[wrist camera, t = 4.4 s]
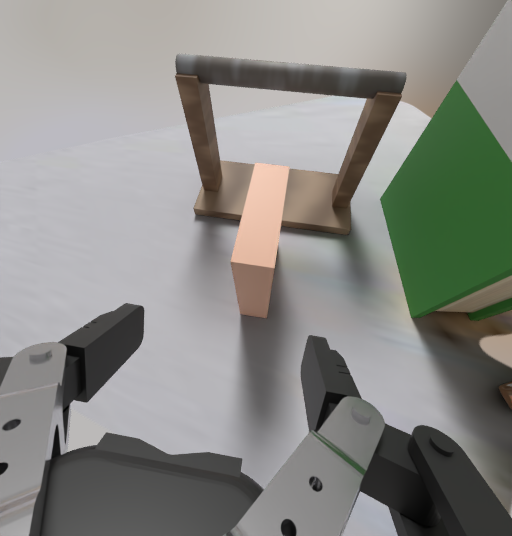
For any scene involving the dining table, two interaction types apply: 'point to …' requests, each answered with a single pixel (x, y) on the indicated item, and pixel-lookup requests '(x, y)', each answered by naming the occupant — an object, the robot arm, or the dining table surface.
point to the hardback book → (460, 192)
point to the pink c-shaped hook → (259, 239)
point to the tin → (507, 393)
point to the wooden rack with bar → (299, 181)
